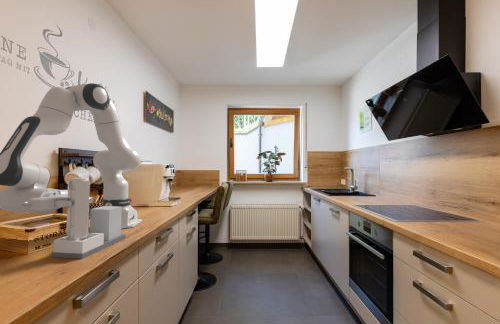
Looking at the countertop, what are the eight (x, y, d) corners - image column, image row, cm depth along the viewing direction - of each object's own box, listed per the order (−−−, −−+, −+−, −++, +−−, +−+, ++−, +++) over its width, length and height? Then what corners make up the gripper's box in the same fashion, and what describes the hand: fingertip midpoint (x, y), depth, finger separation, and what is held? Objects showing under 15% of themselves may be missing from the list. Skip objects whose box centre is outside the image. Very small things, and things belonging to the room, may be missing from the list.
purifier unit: (101, 236, 109) (102, 205, 110) (125, 237, 108) (126, 206, 108) (51, 256, 85) (53, 216, 85) (82, 258, 84) (83, 217, 84)
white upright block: (62, 249, 88) (64, 177, 88) (81, 244, 93) (83, 177, 94) (72, 253, 85) (74, 178, 85) (92, 247, 90) (93, 177, 91)
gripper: (17, 194, 81) (58, 195, 80) (67, 189, 101) (100, 190, 100) (16, 214, 81) (58, 215, 80) (66, 205, 101) (100, 206, 100)
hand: (82, 201), depth 90 cm, fingers open, 8 cm apart
